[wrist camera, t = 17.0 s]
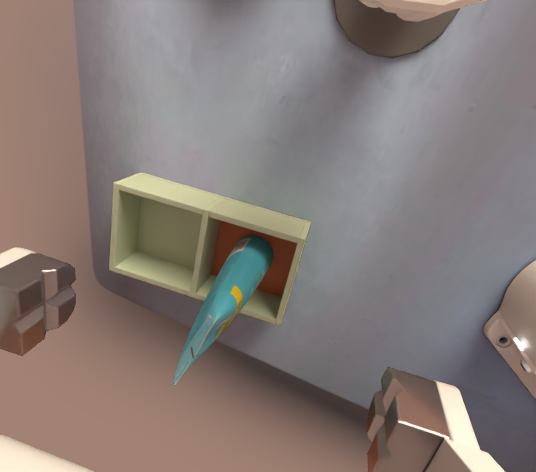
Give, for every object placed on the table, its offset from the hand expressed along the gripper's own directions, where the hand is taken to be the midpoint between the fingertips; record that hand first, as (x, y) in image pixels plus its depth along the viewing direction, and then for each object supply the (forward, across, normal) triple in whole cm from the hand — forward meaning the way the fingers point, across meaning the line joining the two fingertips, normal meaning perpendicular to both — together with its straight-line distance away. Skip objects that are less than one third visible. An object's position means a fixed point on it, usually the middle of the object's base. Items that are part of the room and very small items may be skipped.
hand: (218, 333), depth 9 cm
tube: (+32, +5, +14) cm, 36 cm away
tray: (+33, +10, +14) cm, 37 cm away
